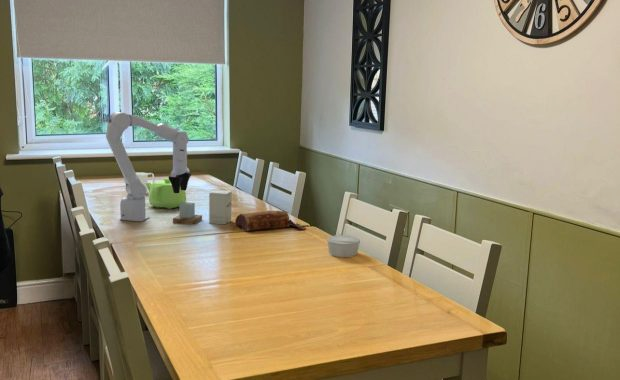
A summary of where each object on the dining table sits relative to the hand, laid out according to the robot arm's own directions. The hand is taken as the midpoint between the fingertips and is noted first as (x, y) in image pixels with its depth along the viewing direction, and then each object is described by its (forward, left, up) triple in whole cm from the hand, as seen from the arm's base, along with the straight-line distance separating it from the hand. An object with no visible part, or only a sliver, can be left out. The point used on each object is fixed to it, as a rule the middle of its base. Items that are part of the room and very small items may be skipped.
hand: (180, 191), depth 251 cm
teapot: (-15, +17, -11) cm, 25 cm away
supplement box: (+20, -6, -11) cm, 23 cm away
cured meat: (+43, -8, -11) cm, 45 cm away
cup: (-39, +45, -11) cm, 61 cm away
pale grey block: (+7, -9, -8) cm, 14 cm away
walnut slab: (+7, -9, -11) cm, 16 cm away
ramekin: (+75, -39, -11) cm, 85 cm away
